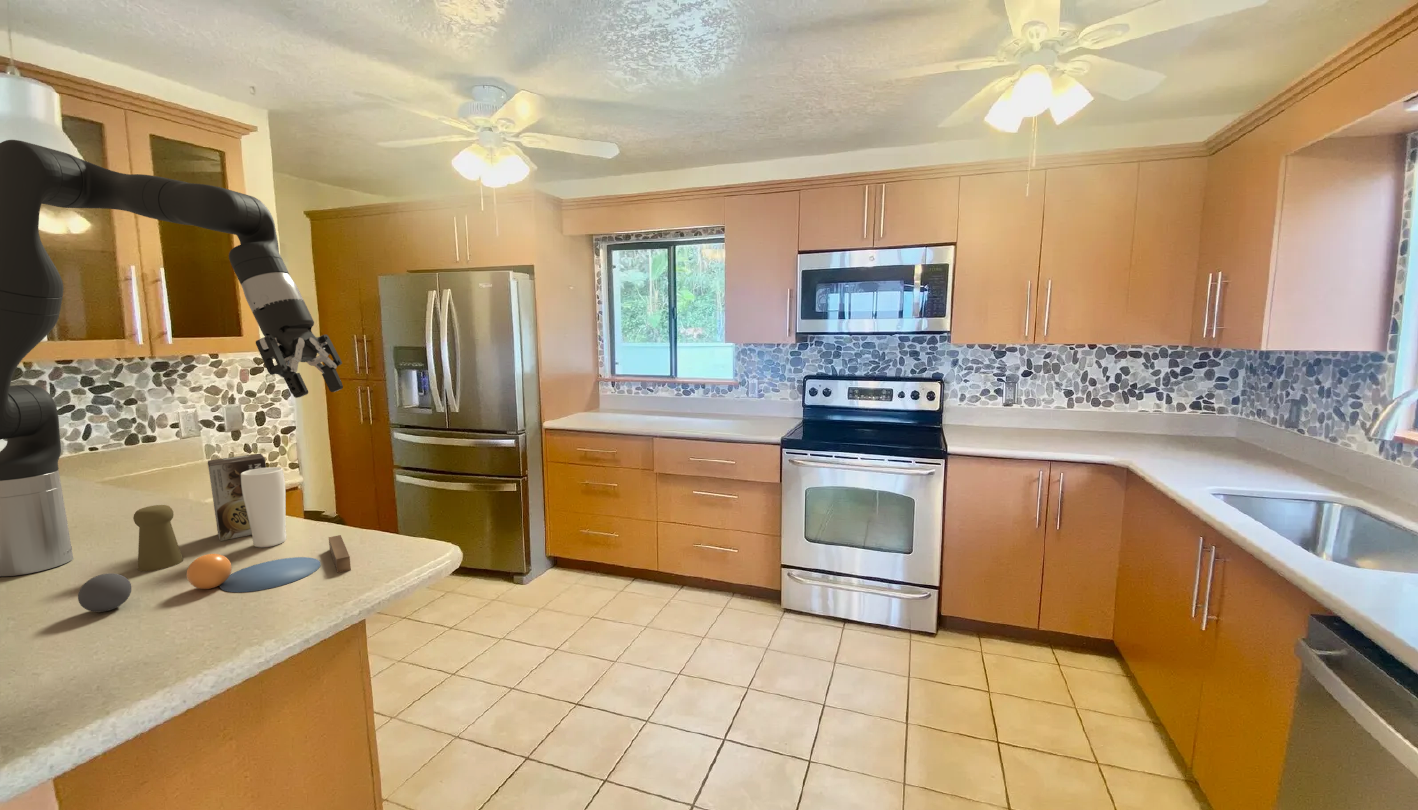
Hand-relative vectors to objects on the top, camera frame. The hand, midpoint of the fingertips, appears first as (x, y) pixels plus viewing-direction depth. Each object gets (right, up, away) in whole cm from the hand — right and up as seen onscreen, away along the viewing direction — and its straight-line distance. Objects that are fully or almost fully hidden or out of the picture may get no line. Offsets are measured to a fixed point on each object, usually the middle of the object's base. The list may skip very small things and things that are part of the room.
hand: (320, 393), depth 98 cm
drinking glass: (-21, -30, +16) cm, 40 cm away
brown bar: (-1, -31, +7) cm, 32 cm away
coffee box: (-32, -29, +23) cm, 49 cm away
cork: (-33, -32, +6) cm, 46 cm away
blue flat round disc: (-9, -32, +1) cm, 33 cm away
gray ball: (-25, -31, -12) cm, 41 cm away
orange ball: (-15, -30, -4) cm, 34 cm away
